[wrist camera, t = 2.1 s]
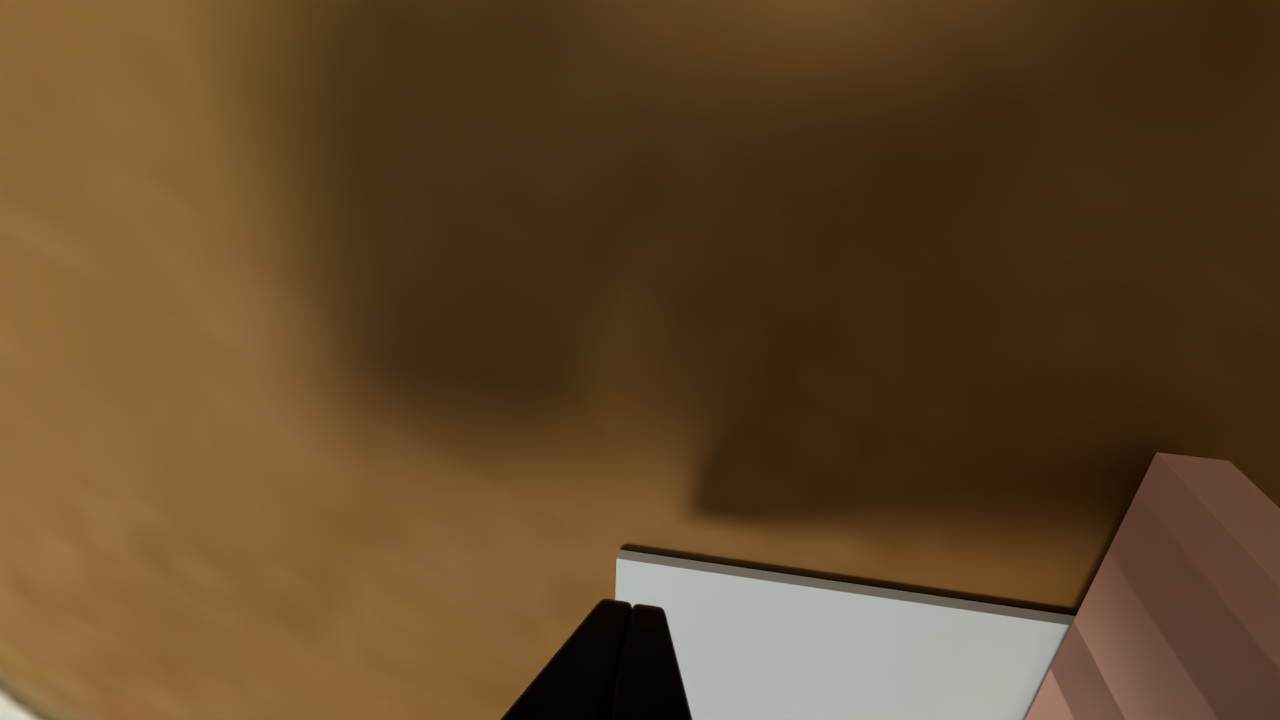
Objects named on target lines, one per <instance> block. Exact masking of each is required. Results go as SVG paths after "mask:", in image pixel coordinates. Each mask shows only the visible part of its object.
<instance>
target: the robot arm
mask: <svg viewBox="0 0 1280 720" xmlns="http://www.w3.org/2000/svg"><path fill="white" fill-rule="evenodd" d="M501 720H693V719H692V715H691V711H690V708H689V704H688V700H687V696H686V692H685V688H684V684H683V680H682V676H681V672H680V668H679V664H678V660H677V657H676V653H675V649H674V645H673V641H672V637H671V633H670V629H669V625H668V621H667V617H666V614H665V611H664V610H663V608H661V607H658V606H652V605H645V604H635V605H634V606H633V608H632V605H631V604H630V603H629V602H626V601H619V600H613V599H603V600H601V601H600V602H599V603H598V604H597V605H596V606H595V607H594V609H593V610H592V611H591V612H590V613H589V614H588V616H587V617H586V618H585V619H584V620H583V622H582V623H581V624H580V625H579V626H578V628H577V629H576V630H575V631H574V632H573V634H572V635H571V636H570V637H569V638H568V640H567V641H566V642H565V643H564V644H563V646H562V647H561V648H560V649H559V650H558V652H557V653H556V654H555V655H554V656H553V657H552V659H551V660H550V661H549V662H548V663H547V665H546V666H545V667H544V668H543V669H542V671H541V672H540V673H539V674H538V675H537V677H536V678H535V679H534V680H533V681H532V683H531V684H530V685H529V686H528V687H527V689H526V690H525V691H524V692H523V693H522V695H521V696H520V697H519V698H518V699H517V700H516V702H515V703H514V704H513V705H512V706H511V708H510V709H509V710H508V711H507V712H506V714H505V715H504V716H503V717H502V718H501Z"/></svg>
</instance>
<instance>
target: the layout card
mask: <svg viewBox="0 0 1280 720" xmlns="http://www.w3.org/2000/svg"><path fill="white" fill-rule="evenodd" d="M615 600H619V601H626V602H629V603H630V604H631V605H632V608H633V606H634V605H635V604H645V605H652V606H658V607H661V608H663V610H664V611H665V614H666V617H667V621H668V625H669V629H670V633H671V637H672V641H673V645H674V649H675V653H676V657H677V660H678V664H679V668H680V672H681V676H682V680H683V684H684V688H685V692H686V696H687V700H688V704H689V708H690V711H691V715H692V719H693V720H1025V719H1026V717H1027V715H1028V713H1029V711H1030V709H1031V706H1032V704H1033V702H1034V700H1035V698H1036V696H1037V694H1038V692H1039V690H1040V688H1041V686H1042V684H1043V682H1044V680H1045V678H1046V676H1047V674H1048V672H1049V670H1050V668H1051V666H1052V664H1053V662H1054V660H1055V658H1056V656H1057V654H1058V652H1059V650H1060V648H1061V645H1062V643H1063V641H1064V639H1065V637H1066V635H1067V633H1068V631H1069V629H1070V627H1071V625H1072V623H1073V621H1074V619H1075V617H1076V616H1071V615H1064V614H1058V613H1051V612H1044V611H1037V610H1030V609H1023V608H1016V607H1010V606H1003V605H996V604H989V603H982V602H975V601H968V600H961V599H955V598H948V597H941V596H934V595H927V594H920V593H913V592H906V591H900V590H893V589H886V588H879V587H872V586H865V585H858V584H852V583H845V582H838V581H831V580H824V579H817V578H810V577H803V576H797V575H790V574H783V573H776V572H769V571H762V570H755V569H749V568H742V567H735V566H728V565H721V564H714V563H707V562H700V561H694V560H687V559H680V558H673V557H666V556H659V555H652V554H646V553H639V552H632V551H625V550H619V551H618V555H617V563H616V595H615Z"/></svg>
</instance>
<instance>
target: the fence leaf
mask: <svg viewBox="0 0 1280 720" xmlns="http://www.w3.org/2000/svg"><path fill="white" fill-rule="evenodd" d="M1025 720H1280V508H1279V507H1278V506H1277V505H1276V504H1274V503H1273V502H1272V501H1271V500H1270V499H1269V498H1268V497H1267V496H1266V495H1265V494H1264V493H1263V492H1262V491H1261V490H1260V489H1259V488H1258V487H1256V486H1255V485H1254V484H1253V483H1252V482H1251V481H1250V480H1249V479H1248V478H1247V477H1246V476H1245V475H1244V474H1243V473H1242V472H1241V471H1240V470H1238V469H1237V468H1236V467H1235V466H1234V465H1233V464H1232V463H1231V462H1230V461H1228V460H1219V459H1210V458H1202V457H1193V456H1184V455H1176V454H1167V453H1159V452H1156V454H1155V456H1154V458H1153V460H1152V463H1151V465H1150V467H1149V469H1148V471H1147V473H1146V475H1145V477H1144V479H1143V481H1142V483H1141V485H1140V487H1139V489H1138V491H1137V493H1136V495H1135V497H1134V499H1133V501H1132V503H1131V505H1130V507H1129V509H1128V511H1127V513H1126V515H1125V517H1124V519H1123V521H1122V524H1121V526H1120V528H1119V530H1118V532H1117V534H1116V536H1115V538H1114V540H1113V542H1112V544H1111V546H1110V548H1109V550H1108V552H1107V554H1106V556H1105V558H1104V560H1103V562H1102V564H1101V566H1100V568H1099V570H1098V572H1097V574H1096V576H1095V578H1094V580H1093V582H1092V585H1091V587H1090V589H1089V591H1088V593H1087V595H1086V597H1085V599H1084V601H1083V603H1082V605H1081V607H1080V609H1079V611H1078V613H1077V615H1076V617H1075V619H1074V621H1073V623H1072V625H1071V627H1070V629H1069V631H1068V633H1067V635H1066V637H1065V639H1064V641H1063V643H1062V645H1061V648H1060V650H1059V652H1058V654H1057V656H1056V658H1055V660H1054V662H1053V664H1052V666H1051V668H1050V670H1049V672H1048V674H1047V676H1046V678H1045V680H1044V682H1043V684H1042V686H1041V688H1040V690H1039V692H1038V694H1037V696H1036V698H1035V700H1034V702H1033V704H1032V706H1031V709H1030V711H1029V713H1028V715H1027V717H1026V719H1025Z"/></svg>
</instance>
